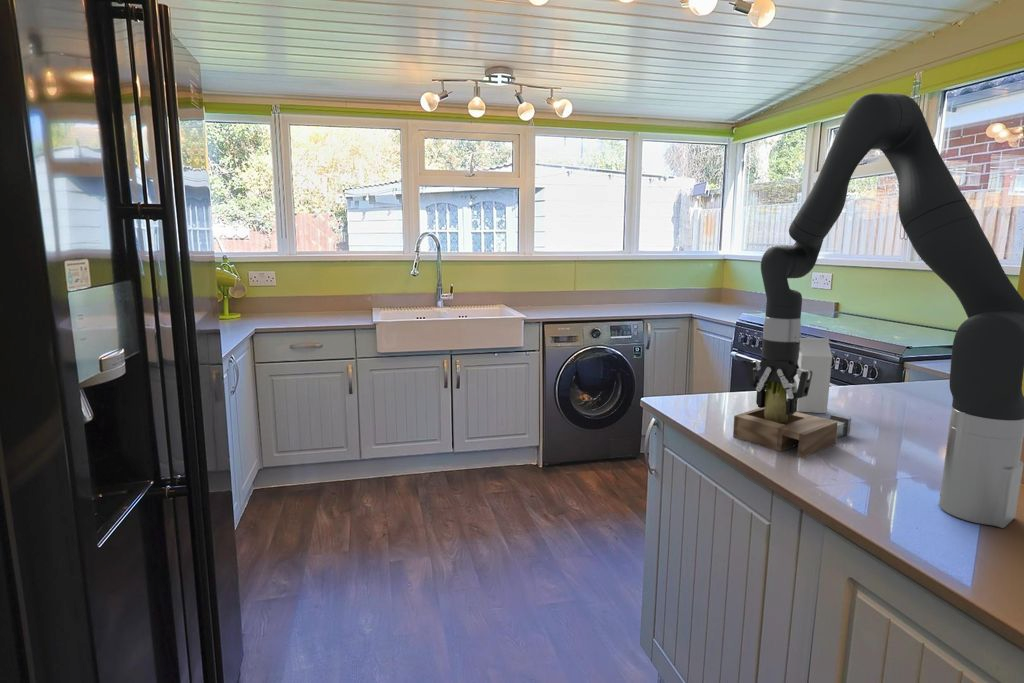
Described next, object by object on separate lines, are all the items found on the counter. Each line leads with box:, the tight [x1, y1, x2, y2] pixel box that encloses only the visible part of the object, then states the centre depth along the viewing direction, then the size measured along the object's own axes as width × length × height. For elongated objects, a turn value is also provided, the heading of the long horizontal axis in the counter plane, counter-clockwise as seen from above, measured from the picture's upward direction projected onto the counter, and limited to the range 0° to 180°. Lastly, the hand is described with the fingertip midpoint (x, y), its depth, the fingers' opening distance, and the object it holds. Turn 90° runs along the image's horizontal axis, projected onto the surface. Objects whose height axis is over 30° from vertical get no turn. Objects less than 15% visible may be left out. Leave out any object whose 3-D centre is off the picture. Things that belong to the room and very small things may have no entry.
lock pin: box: [829, 413, 852, 439], centre depth 128 cm, size 4×13×4 cm, turn 126°
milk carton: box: [794, 337, 833, 414], centre depth 150 cm, size 7×7×19 cm
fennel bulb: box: [764, 379, 788, 424], centre depth 128 cm, size 6×5×12 cm
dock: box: [732, 407, 838, 459], centre depth 128 cm, size 16×14×5 cm
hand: (775, 410), depth 129 cm, fingers closed on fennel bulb, 6 cm apart
